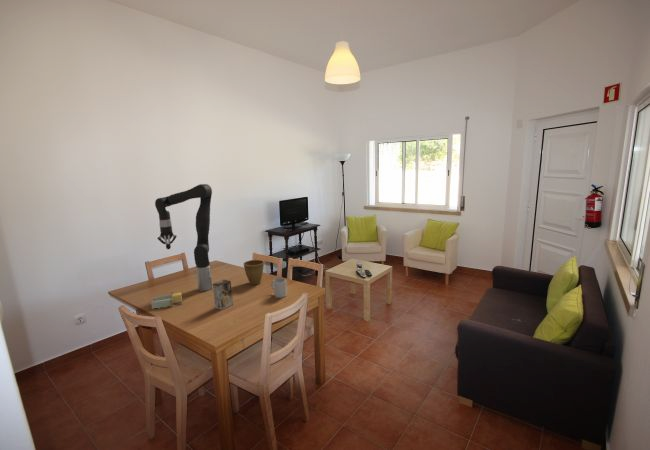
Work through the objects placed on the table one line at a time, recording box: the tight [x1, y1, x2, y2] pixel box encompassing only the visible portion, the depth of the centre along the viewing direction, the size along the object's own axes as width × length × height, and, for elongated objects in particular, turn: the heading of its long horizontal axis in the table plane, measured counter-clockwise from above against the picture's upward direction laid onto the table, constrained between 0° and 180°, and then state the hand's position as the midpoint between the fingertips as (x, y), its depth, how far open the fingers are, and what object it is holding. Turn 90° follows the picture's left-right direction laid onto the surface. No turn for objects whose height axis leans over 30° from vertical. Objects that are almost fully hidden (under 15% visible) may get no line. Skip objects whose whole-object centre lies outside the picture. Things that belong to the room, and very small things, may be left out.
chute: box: [150, 291, 183, 310], centre depth 204 cm, size 17×13×5 cm
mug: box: [271, 277, 288, 299], centre depth 214 cm, size 12×8×11 cm
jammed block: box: [172, 291, 183, 303], centre depth 206 cm, size 5×5×5 cm
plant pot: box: [243, 259, 265, 285], centre depth 236 cm, size 15×15×16 cm
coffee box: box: [212, 279, 234, 311], centre depth 197 cm, size 9×6×16 cm
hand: (168, 249), depth 227 cm, fingers closed
